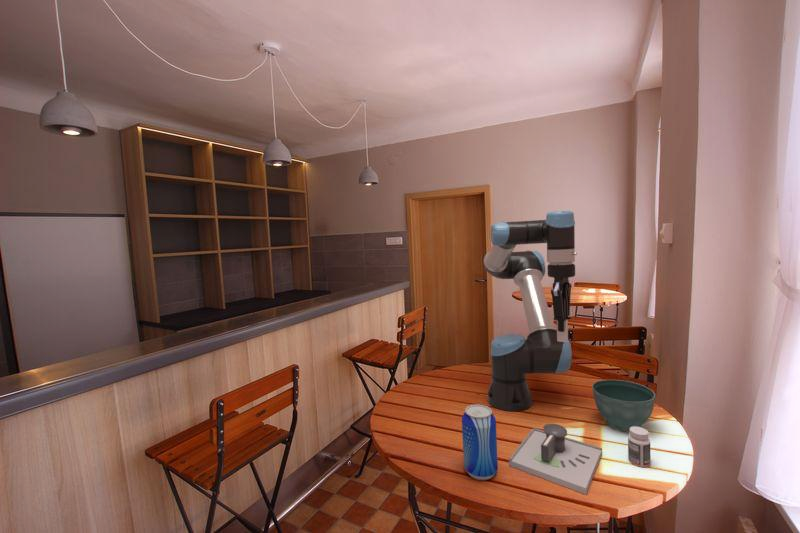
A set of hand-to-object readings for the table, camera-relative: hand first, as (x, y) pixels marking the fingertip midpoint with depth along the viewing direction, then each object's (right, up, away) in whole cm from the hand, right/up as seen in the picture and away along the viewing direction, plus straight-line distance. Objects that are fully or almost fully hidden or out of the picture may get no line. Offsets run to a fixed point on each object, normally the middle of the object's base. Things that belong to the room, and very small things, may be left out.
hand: (562, 341), depth 107 cm
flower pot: (+19, -26, +1) cm, 32 cm away
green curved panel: (-8, -27, -16) cm, 32 cm away
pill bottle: (+12, -27, -17) cm, 34 cm away
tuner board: (-8, -28, -14) cm, 33 cm away
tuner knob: (-9, -26, -14) cm, 31 cm away
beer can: (-29, -30, -17) cm, 45 cm away
